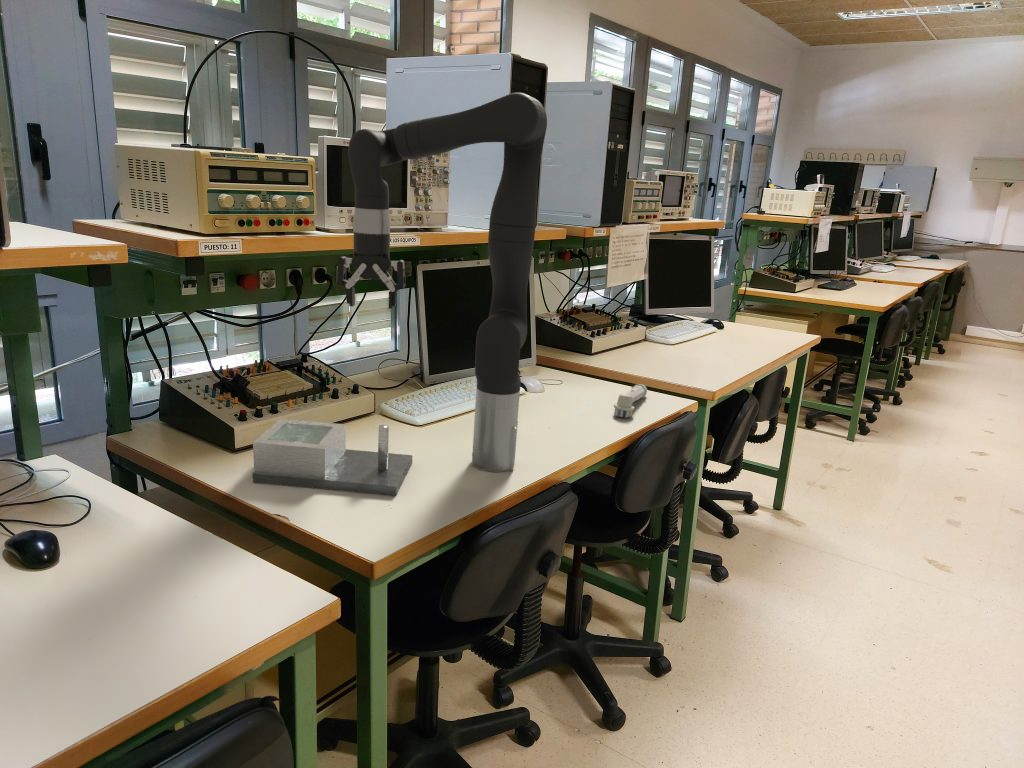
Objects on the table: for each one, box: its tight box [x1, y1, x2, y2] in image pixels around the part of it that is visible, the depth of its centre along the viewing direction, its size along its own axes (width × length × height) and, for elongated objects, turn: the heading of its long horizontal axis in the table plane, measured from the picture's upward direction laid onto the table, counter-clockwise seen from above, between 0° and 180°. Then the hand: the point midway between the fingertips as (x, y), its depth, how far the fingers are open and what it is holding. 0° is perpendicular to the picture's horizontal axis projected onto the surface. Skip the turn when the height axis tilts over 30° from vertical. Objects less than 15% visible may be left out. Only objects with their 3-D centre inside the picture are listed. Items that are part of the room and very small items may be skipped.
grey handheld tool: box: [613, 383, 648, 419], centre depth 202 cm, size 5×7×25 cm
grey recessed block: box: [252, 418, 347, 478], centre depth 144 cm, size 14×14×6 cm
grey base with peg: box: [252, 424, 413, 497], centre depth 144 cm, size 28×16×11 cm, turn 87°
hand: (371, 307), depth 154 cm, fingers open, 8 cm apart
